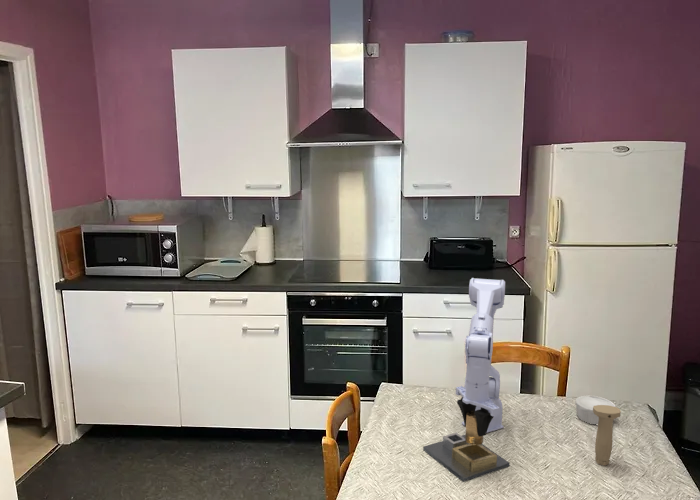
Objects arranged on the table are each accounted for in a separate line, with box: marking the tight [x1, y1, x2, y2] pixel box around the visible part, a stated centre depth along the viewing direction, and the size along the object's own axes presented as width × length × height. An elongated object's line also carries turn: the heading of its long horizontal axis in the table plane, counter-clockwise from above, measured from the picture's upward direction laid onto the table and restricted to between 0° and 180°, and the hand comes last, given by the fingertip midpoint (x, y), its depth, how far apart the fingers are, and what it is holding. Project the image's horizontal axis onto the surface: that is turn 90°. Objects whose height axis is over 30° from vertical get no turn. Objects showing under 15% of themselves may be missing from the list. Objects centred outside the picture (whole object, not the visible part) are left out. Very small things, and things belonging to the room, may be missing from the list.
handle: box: [593, 405, 622, 467], centre depth 146 cm, size 5×6×15 cm
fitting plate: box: [422, 432, 511, 483], centre depth 150 cm, size 15×17×4 cm
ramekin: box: [574, 394, 617, 425], centre depth 172 cm, size 11×11×5 cm
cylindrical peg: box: [464, 411, 484, 445], centre depth 145 cm, size 4×4×7 cm
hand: (475, 430), depth 145 cm, fingers closed on cylindrical peg, 4 cm apart
